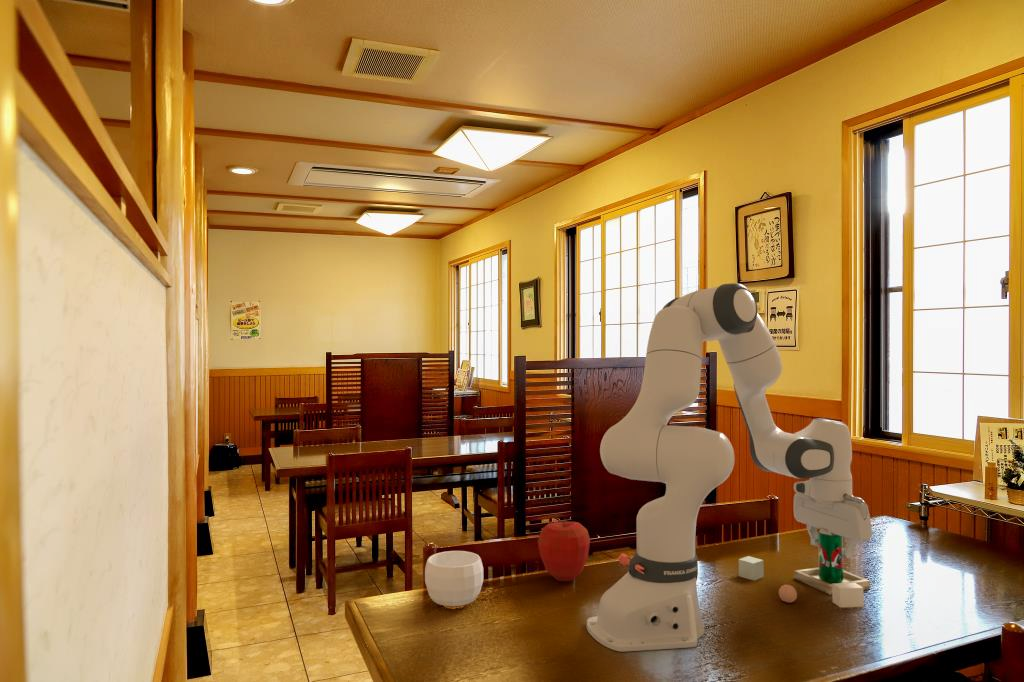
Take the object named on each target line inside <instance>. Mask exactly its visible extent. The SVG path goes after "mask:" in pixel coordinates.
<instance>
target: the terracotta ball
mask: <svg viewBox="0 0 1024 682" xmlns="http://www.w3.org/2000/svg"><path fill="white" fill-rule="evenodd" d="M778 595H779V598H780V600H781V601H783V602H784V603H787V604H788V603H793V602H795V601H796V600H797V597H798V592H797V590H796V588H795V587H794V586H792V585H791V584H783V585H781V586H780V587H779V589H778Z"/></svg>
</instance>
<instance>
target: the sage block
mask: <svg viewBox="0 0 1024 682" xmlns="http://www.w3.org/2000/svg"><path fill="white" fill-rule="evenodd" d="M764 563H765V562H764V560H763V559H762V558H761V559H760V558H757V557H753V556H750V555H747V556H744V557H741V558H739V559H738V577H741V578H744V579H747V580H751V581H757V580H759V579H761V578H764V575H765V574H764V573H765V572H764V570H765V569H764V568H765V566H764V565H765V564H764Z"/></svg>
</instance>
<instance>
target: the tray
mask: <svg viewBox="0 0 1024 682" xmlns="http://www.w3.org/2000/svg"><path fill="white" fill-rule="evenodd" d="M793 575H794V577H793V578H794V580H797V581H799V582H802V583H804V584H806V585H808V586H810V587H812V588H815V589H816V590H819V591H821V592H823V593H825V594H828V595H830V596H831V595H832V584H830V583H826V582H824V581H822V580H821V579H820V578H819V566H818V567H812V568H805V569H796V570H794V574H793ZM841 583H856V584H858V585H860V586H861V587H863V591H864V590H870V589H871V581H870V580H869V579H866V578H864V577H862V576H860V575H858V574H854V573H851V572H849V571H847V570H845V569H843V581H842V582H841Z"/></svg>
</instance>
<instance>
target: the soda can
mask: <svg viewBox="0 0 1024 682" xmlns="http://www.w3.org/2000/svg"><path fill="white" fill-rule="evenodd" d="M817 533H818V546H817V549H818V567H819V578H820V579H821V580H822V581H824V582H826V583H830V584H832V583H841V582H842V581H843V570H844V557H843V556H842V548H844V537H842V536H839V535H836V534H833V533H830V532H829V530H825V529H822V528H820V529H819V530H818V531H817Z"/></svg>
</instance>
